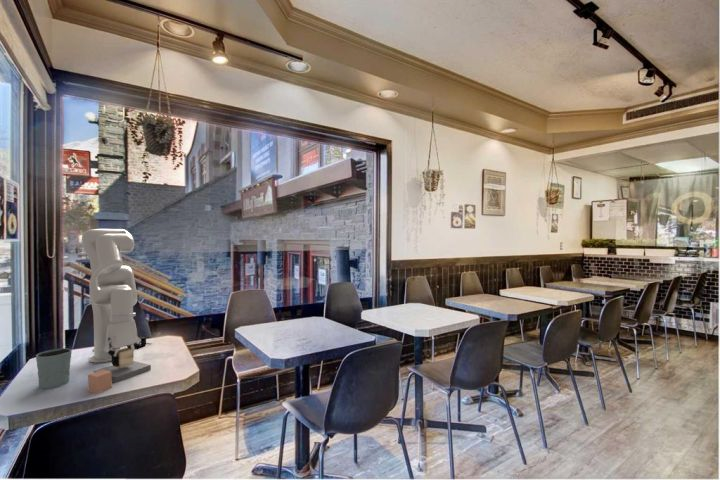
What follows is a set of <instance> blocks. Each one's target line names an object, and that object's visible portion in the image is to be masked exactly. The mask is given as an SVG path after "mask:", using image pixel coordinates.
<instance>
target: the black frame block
mask: <svg viewBox="0 0 720 480" xmlns="http://www.w3.org/2000/svg"><path fill="white" fill-rule="evenodd" d="M139 338H140V339H141V341H140V343H139V344H138V345H137V346H136V348H135V350H140V349H142V348H145V347H147V346H150V345H152V343H151V342H149V343H148V342H147V338H146V337H145V336H140V337H139Z"/></svg>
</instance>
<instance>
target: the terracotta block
mask: <svg viewBox="0 0 720 480" xmlns="http://www.w3.org/2000/svg"><path fill="white" fill-rule="evenodd" d="M99 370H100V369H99ZM96 371H97V370H96ZM87 382H88V383H87V389H88V390H87V391H88V392H91V393H94V394H99V393H102V392H105V391H107V390H109V389H112V387H113V385H112V383H113V382H112V377H111V371H106V370H100V371H97V372H94V371H93V372H92V373H89V374H87Z"/></svg>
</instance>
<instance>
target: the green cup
mask: <svg viewBox="0 0 720 480" xmlns="http://www.w3.org/2000/svg"><path fill="white" fill-rule="evenodd" d="M72 351H73V350H72V348H66V347H65V348H64V347H63V348H55V349H50V350H46V351H45V350H44V351H41V352H39V353H37V354H36V355H35V359H36V368H37V377H38V387H39V389H41V390H49V389H54V387H55V388H58V387H61V386H65V385H66V384H68V383H69V381H70V371H71V370H70V369H71V360H72V359H71V358H72V353H73V352H72Z"/></svg>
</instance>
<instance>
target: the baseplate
mask: <svg viewBox="0 0 720 480" xmlns="http://www.w3.org/2000/svg"><path fill="white" fill-rule="evenodd" d="M100 370H106V371H111V377H112V383H118V382H121V381H123V380H126V379H129V378H132V377H134V376H137V375H140V374H143V373H145V372H148V371H150V370H152V364H149V363H144V362H139V361H137V360H136V361H135V360H133V364H131V365H128V366H125V367H122V368H118V367H114V366H113V365H110V366H106V367H103V368H100V369H97V370H94V371H93V373H94V372H97V371H100Z"/></svg>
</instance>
